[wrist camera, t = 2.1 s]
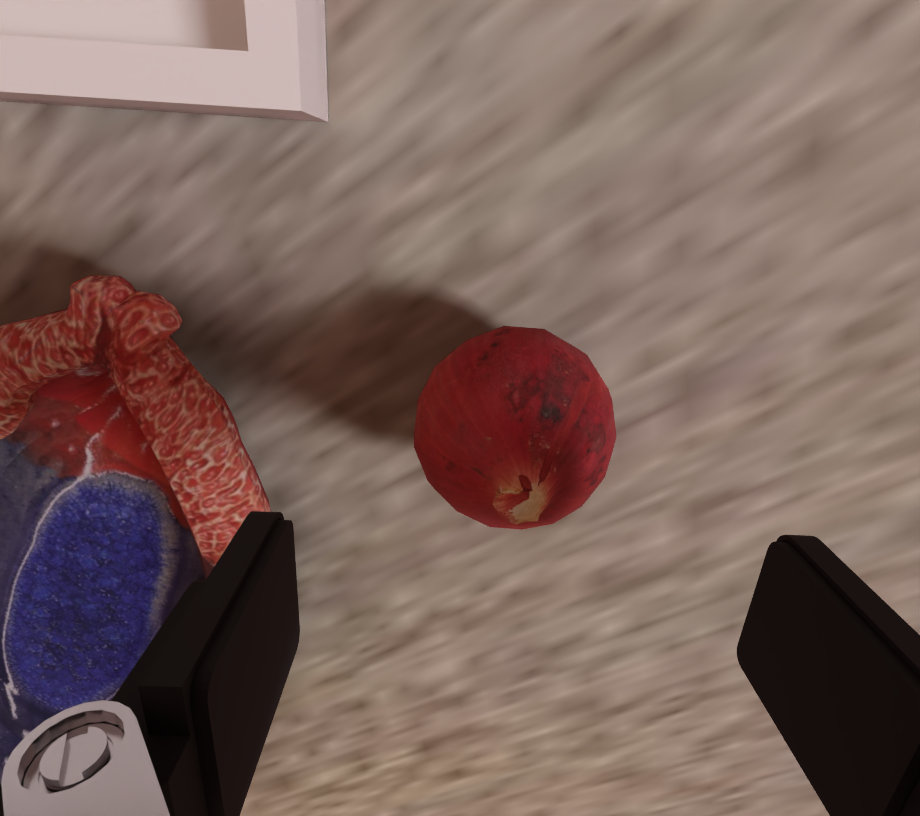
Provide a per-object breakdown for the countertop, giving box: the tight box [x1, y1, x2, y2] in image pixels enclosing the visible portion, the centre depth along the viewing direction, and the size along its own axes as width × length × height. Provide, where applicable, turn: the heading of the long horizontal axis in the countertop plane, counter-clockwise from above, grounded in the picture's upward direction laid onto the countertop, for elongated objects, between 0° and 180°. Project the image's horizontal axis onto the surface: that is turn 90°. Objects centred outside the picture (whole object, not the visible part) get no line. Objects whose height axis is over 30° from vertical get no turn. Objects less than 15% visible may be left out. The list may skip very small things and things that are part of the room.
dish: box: [0, 275, 271, 784], centre depth 21 cm, size 16×31×5 cm, turn 150°
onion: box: [414, 326, 616, 529], centre depth 16 cm, size 6×6×8 cm
